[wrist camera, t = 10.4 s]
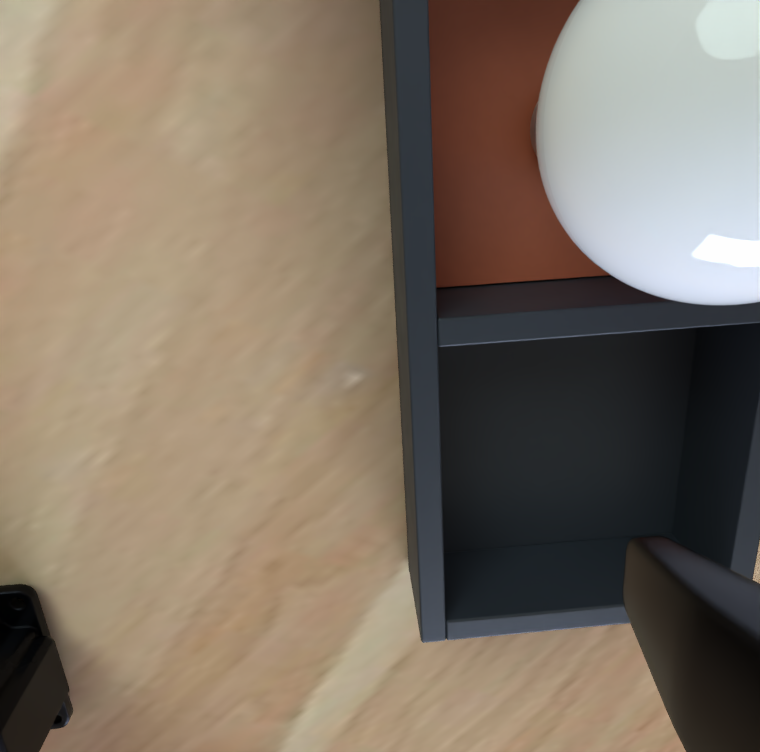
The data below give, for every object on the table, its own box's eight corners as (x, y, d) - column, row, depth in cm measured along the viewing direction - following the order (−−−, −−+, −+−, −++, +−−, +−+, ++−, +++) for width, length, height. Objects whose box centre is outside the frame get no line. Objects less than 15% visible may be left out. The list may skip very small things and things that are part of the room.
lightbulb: (572, 281, 19) (836, 436, 9) (413, 148, 18) (516, 154, 7) (724, 105, 18) (1249, 53, 8) (565, -58, 16) (958, -407, 6)
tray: (408, 568, 23) (421, 643, 20) (375, -83, 16) (385, -147, 13) (686, 542, 24) (747, 613, 20) (772, -103, 17) (890, -169, 13)
